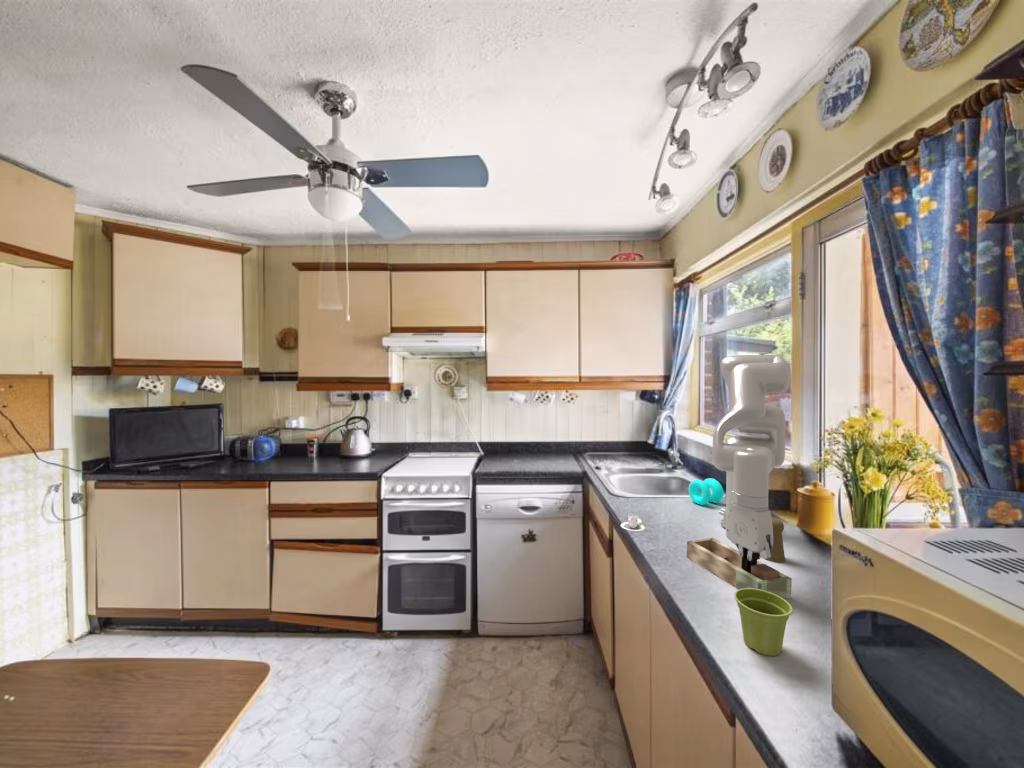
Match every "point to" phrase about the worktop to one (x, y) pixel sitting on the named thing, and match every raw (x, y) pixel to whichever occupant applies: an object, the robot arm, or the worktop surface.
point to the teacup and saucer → (633, 523)
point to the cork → (777, 542)
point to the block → (764, 572)
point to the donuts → (705, 491)
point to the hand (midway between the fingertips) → (749, 573)
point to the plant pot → (762, 619)
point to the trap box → (733, 567)
